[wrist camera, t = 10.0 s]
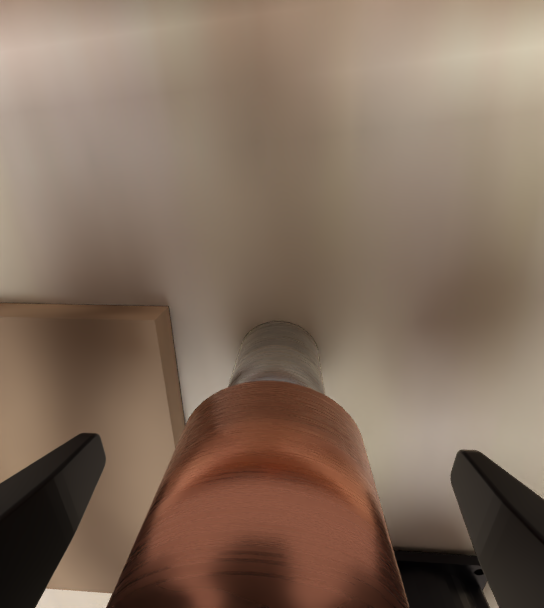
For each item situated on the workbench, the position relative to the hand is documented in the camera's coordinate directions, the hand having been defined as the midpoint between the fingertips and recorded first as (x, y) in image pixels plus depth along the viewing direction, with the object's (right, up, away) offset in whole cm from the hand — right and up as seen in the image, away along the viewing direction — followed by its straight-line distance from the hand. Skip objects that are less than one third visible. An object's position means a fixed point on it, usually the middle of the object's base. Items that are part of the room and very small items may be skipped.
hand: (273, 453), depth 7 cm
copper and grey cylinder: (0, +2, +4) cm, 4 cm away
